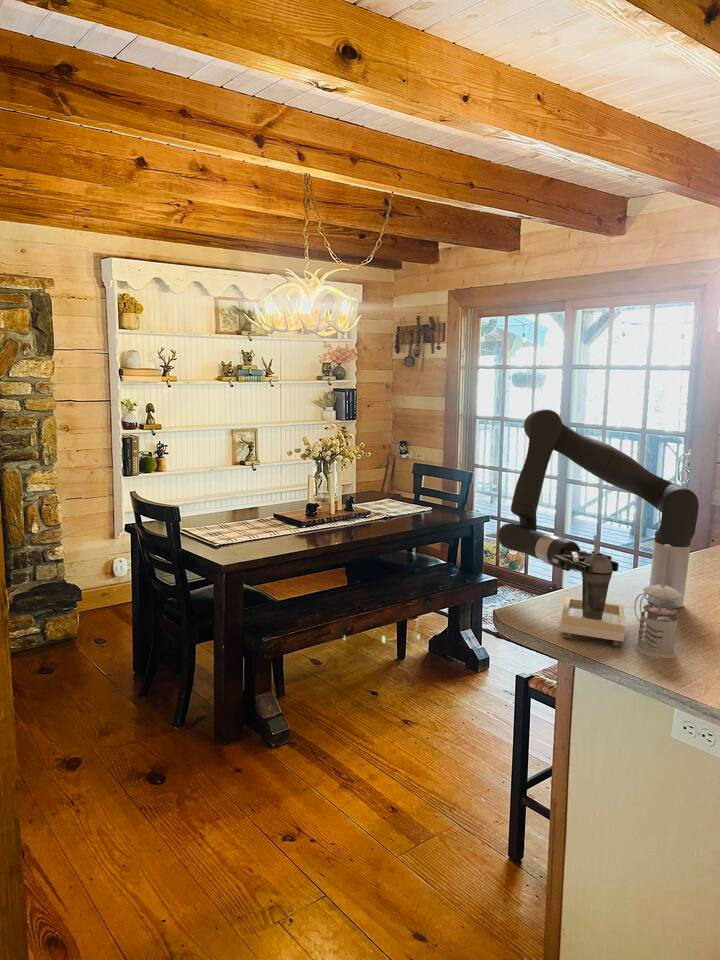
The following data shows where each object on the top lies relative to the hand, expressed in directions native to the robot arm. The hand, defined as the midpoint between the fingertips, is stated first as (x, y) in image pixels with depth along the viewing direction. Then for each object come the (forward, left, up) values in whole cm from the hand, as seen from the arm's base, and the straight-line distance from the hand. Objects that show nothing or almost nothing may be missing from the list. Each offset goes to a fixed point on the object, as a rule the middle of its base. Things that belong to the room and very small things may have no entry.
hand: (604, 568), depth 167 cm
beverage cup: (-1, -2, -13) cm, 13 cm away
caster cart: (-1, -1, -17) cm, 17 cm away
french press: (+2, +12, -17) cm, 21 cm away
